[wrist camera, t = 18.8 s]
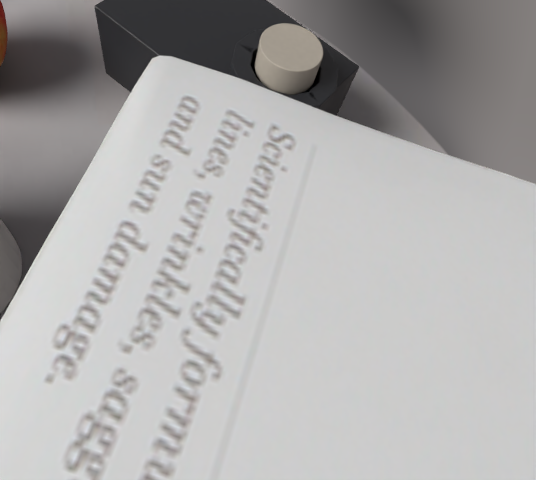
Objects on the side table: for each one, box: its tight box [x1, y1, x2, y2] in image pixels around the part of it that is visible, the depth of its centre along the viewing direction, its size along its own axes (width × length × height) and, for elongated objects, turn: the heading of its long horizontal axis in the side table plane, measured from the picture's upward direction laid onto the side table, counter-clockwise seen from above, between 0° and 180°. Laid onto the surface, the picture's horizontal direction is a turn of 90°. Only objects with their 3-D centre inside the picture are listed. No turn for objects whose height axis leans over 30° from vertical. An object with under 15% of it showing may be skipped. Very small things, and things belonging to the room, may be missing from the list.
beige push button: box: [255, 23, 323, 95], centre depth 30 cm, size 4×4×2 cm
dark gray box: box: [95, 0, 359, 116], centre depth 35 cm, size 17×10×8 cm, turn 52°
